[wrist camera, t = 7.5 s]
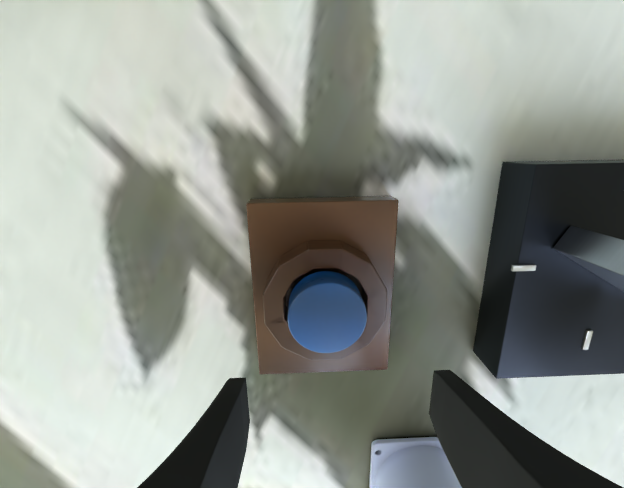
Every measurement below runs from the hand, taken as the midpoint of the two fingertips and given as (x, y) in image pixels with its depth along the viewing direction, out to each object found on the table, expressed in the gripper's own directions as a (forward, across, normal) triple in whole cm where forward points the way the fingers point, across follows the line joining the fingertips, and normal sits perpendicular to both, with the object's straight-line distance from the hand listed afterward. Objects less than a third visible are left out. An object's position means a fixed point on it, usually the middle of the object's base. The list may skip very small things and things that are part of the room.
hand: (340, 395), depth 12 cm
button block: (+10, 0, 0) cm, 10 cm away
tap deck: (+10, -17, -1) cm, 20 cm away
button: (+7, 0, 0) cm, 7 cm away
